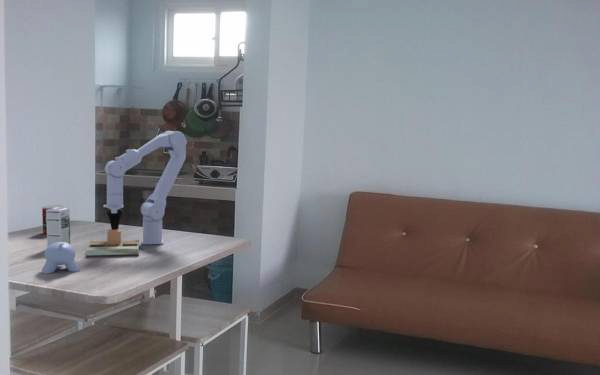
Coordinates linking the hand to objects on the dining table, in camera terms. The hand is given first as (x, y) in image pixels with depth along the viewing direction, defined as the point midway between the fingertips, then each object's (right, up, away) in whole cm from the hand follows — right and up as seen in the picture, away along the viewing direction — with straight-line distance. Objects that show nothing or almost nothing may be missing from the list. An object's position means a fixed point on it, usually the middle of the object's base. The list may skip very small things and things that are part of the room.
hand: (114, 229), depth 223 cm
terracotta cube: (+2, -4, -6) cm, 7 cm away
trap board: (+2, -7, -8) cm, 11 cm away
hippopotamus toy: (-6, -10, -35) cm, 37 cm away
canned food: (-32, -3, +23) cm, 40 cm away
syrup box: (-19, -6, -5) cm, 20 cm away
